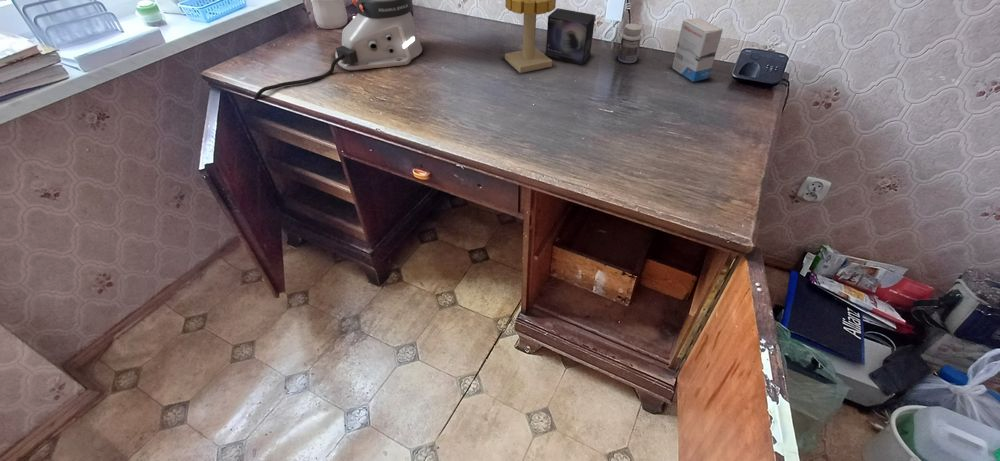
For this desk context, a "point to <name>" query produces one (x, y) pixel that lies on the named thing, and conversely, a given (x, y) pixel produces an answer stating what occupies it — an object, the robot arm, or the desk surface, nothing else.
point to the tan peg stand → (528, 50)
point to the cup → (330, 13)
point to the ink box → (696, 49)
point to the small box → (569, 35)
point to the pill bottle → (630, 43)
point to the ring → (530, 6)
